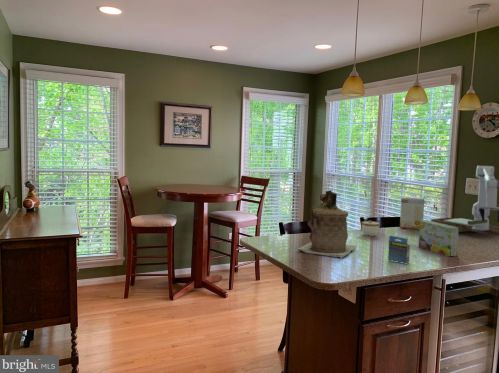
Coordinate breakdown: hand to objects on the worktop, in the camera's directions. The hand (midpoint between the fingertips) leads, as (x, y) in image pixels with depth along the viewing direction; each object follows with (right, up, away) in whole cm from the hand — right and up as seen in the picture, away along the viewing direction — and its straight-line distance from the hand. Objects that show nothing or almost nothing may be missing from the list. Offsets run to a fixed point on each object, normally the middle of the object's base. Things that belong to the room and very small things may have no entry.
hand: (490, 221), depth 241 cm
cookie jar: (-107, -12, -36) cm, 113 cm away
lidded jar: (-72, -9, +5) cm, 73 cm away
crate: (-9, -8, +30) cm, 32 cm away
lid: (-4, -2, +20) cm, 21 cm away
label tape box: (-77, -14, -54) cm, 95 cm away
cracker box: (-36, -7, +29) cm, 47 cm away
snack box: (-48, -13, -33) cm, 60 cm away
